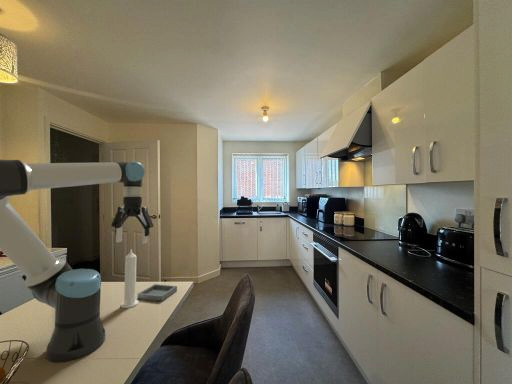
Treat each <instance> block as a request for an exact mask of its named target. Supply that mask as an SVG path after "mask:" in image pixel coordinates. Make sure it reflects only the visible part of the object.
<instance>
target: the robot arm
mask: <svg viewBox="0 0 512 384" xmlns="http://www.w3.org/2000/svg"><path fill="white" fill-rule="evenodd" d="M145 170H146V169H145V167H144V165H143V164H142V163H141V162H138V161H125V162H124V161H121V162H117V161H116V162H115V161H114V162H110V161H109V162H53V163H52V162H46V163H44V162H42V163H41V162H40V163H39V162H36V163H35V162H34V163H30V162H29V163H28V162H27V163H26V162H25V161H23V160H21V159H0V251H1V252H2V253H3V254H4V255H5V256H6V257H7V258H8V259H9V260H10V261H11V262H12V264H13V265H14V266H15V267H16V268H18V269H19V271H20V272H21V273H22V274H23V275H24V276H25V277H26V278H25V281H24V286H26V287H27V288H28V289H29V291H30V292H31V294H32V296H33V298H34V299H35V300H37V301H38V302H40V303H42V304H45V305H47V306H49V307H51V308H53V309H54V310H55V311H54V327H53V328H54V329H53V331H52V335H51V337H50V339H49V342H48V343H47V346H46V349H45V351H46V352H45V357H46V359H47V360H48V361H50V362H54V363H55V362H56V363H57V362H60V363H61V362H68V361H72V360H76V359H79V358H82V357H84V356H87V355H89V354H90V353H93V352H94V351H96V350H97V349H98V348H100V347H101V346H102V345H103V344H104V342H105V341H106V329H105V328H104V324H103V321H102V319H101V316H100V315H101V312H100V311H101V293H102V291H101V290H102V289H101V287H102V280H101V278H102V277H101V274H100V273H99V272H98V271H97V270H95V269H92V268H76V269H73V267H71V266H70V265H69V263H68V261H66V260H65V259H63V258H57V257H56V256H55V255H54V253H52V252H51V251H50V249H49V248H48V247H47V246H46V245H45V243H44V242H43V241H42V240H41V238H39V236H38V235H37V234H36V233H35V232H34V230H33V229H32V227H30V226H29V225H28V223H27V222H26V221H25V220H24V219H23V218H22V216H21V215H20V214H19V213H18V211H17V210H16V209H15V208H14V207H13V205H12V204H11V203H10V201H9V200H10V197H11V196H18V195H19V196H20V195H22V196H23V195H26V194H28V193H29V192H30V191H36V190H47V189H55V188H56V189H57V188H67V187H68V188H69V187H81V186H88V185H91V186H92V185H100V184H101V185H103V184H112V183H121V184H122V183H123V189H122V190H123V192H122V194H123V197H122V201H123V203H122V204H123V206H117V211H116V213H115V215H114V218H113V219H112V222H111V227H113V228H115V230H114V234H115V235H116V237H115V243H116V244H117V243H121V242H123V227H122V226H123V224H125V222H126V221H127V220H128V218H129V217H130V218H131V217H132V218H133V217H134V218H136V219H137V220H138V222H139V223H140V224H141V226H142V227H143V228H142V230H141V231H142V233H141V235H142V236H141V237H142V238H141V243H142V245H144V244H148V242H149V240H148V239H149V236H150V229H152V228H154V223H153V221H152V218H151V216H150V214H149V210H148V209H149V208H148V207H147V206H142V204H143V197H142V195H143V178H144V176H145V173H146V171H145Z"/></svg>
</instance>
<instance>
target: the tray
mask: <svg viewBox="0 0 512 384" xmlns="http://www.w3.org/2000/svg"><path fill="white" fill-rule="evenodd" d="M177 291H178V286H177V285H171V284H170V285H169V284H168V285H167V284H159V283H157V284H156V283H154V284H153V285H151V286H149V287H147V288H146V289H143V290H142V291H140V292H138V293H137V299H136V300H141V301H150V302H164V301H165V300H167V299H168V298H169V297H170V296H172V295H174V294H175V293H176V292H177Z"/></svg>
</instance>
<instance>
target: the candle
mask: <svg viewBox="0 0 512 384" xmlns="http://www.w3.org/2000/svg"><path fill="white" fill-rule="evenodd" d="M137 257H138V256H137V255H136V254H135V253H133V249H132V248H130V251H129V253H128V254H127V255H125V257H124V258H125V260H124V263H125V264H124V293H123V294H124V299H123V302H121V303H120V308H122V309H129V308H134V307H136V306H138V304H139V303H140V301H139V299H136V297H137V296H136V294H137V292H136V291H137V290H136V289H137Z"/></svg>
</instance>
